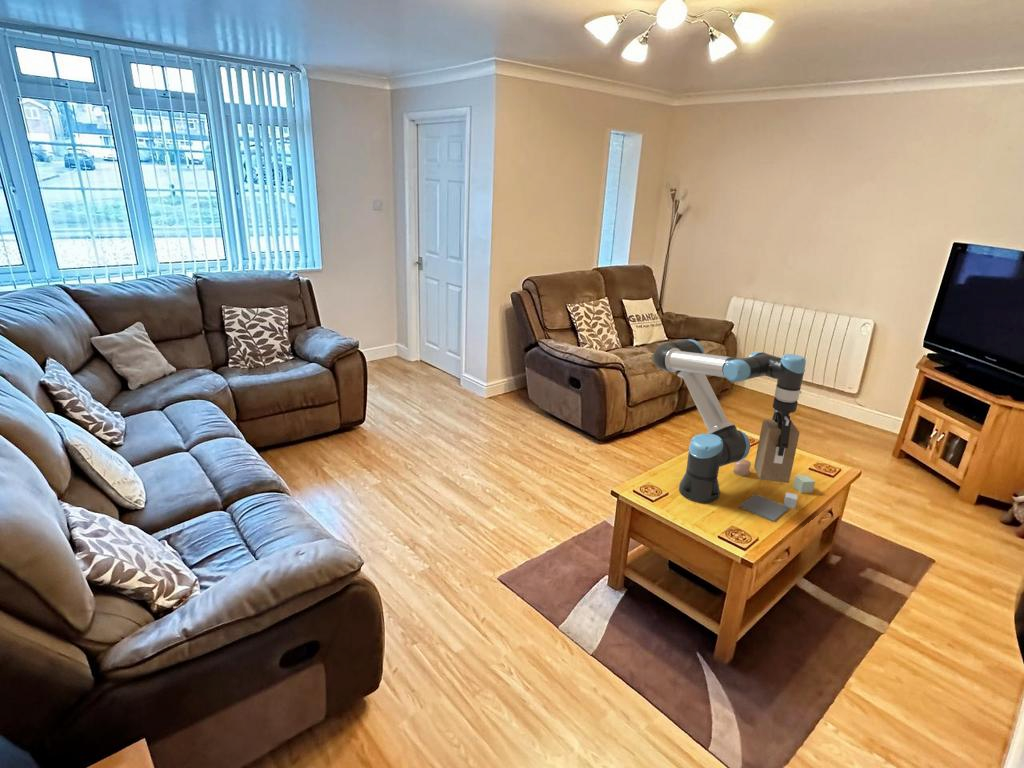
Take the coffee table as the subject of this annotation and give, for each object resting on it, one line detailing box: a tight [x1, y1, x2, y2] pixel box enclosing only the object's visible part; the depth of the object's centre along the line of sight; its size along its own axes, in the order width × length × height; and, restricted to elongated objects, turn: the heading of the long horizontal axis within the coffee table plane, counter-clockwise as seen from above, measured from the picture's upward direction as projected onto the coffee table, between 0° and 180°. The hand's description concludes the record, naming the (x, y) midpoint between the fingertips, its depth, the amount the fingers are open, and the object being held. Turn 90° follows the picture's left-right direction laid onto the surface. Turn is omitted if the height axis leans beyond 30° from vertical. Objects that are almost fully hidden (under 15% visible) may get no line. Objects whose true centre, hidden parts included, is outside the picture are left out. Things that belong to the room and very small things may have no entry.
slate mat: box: [738, 493, 790, 523], centre depth 203 cm, size 13×13×1 cm
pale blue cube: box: [783, 491, 798, 510], centre depth 205 cm, size 4×4×4 cm
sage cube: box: [792, 474, 816, 494], centre depth 216 cm, size 5×5×5 cm
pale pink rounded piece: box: [733, 458, 752, 477], centre depth 228 cm, size 6×6×5 cm
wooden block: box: [753, 418, 800, 483], centre depth 195 cm, size 10×10×20 cm
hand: (774, 456), depth 196 cm, fingers closed on wooden block, 10 cm apart
